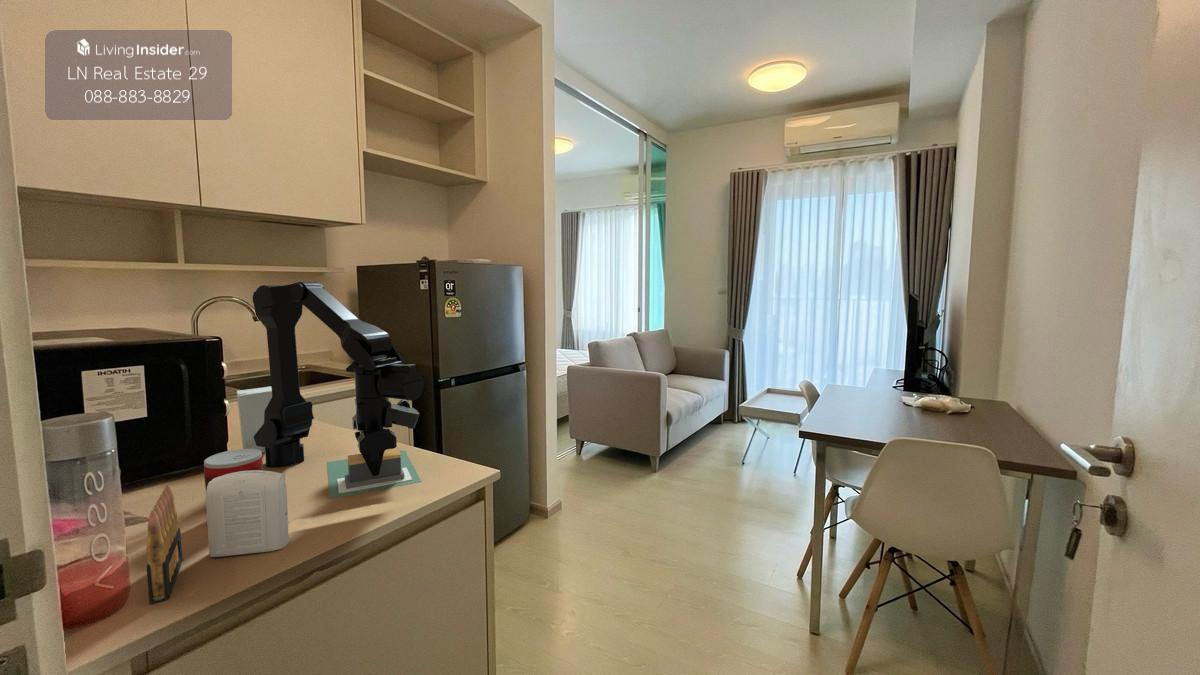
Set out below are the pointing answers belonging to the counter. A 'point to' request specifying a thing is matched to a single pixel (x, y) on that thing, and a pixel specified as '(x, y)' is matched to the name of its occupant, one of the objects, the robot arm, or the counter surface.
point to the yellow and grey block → (362, 472)
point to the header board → (344, 487)
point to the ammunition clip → (163, 548)
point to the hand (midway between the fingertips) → (374, 471)
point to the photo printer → (247, 513)
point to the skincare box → (252, 414)
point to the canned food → (232, 463)
